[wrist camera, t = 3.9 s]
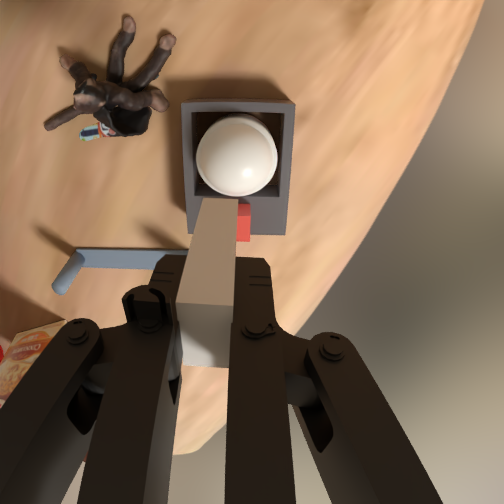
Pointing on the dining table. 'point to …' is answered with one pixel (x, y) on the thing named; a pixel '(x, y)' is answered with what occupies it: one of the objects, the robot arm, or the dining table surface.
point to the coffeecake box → (24, 355)
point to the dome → (237, 155)
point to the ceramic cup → (1, 354)
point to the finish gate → (108, 262)
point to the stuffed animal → (116, 91)
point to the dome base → (253, 205)
